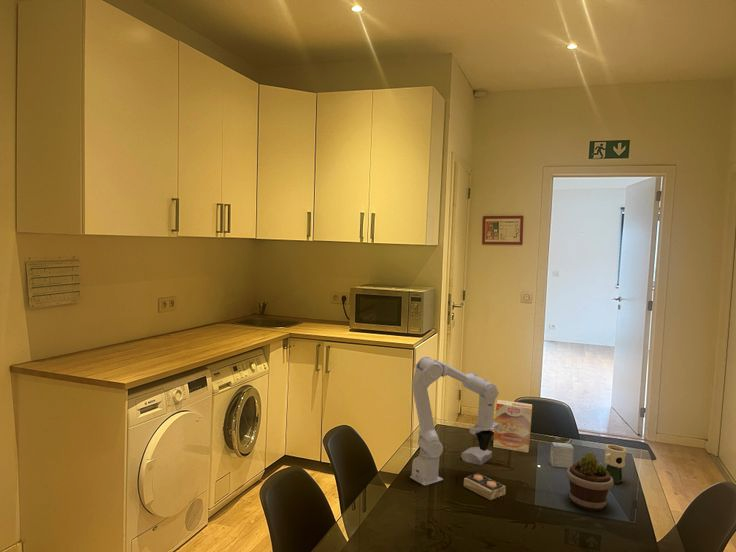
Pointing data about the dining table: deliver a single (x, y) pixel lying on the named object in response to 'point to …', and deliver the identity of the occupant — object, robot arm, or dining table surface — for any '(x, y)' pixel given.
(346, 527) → the dining table surface
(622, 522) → the dining table surface
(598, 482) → the flowerpot
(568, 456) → the medicine box
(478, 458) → the stone block
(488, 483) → the peg
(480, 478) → the peg
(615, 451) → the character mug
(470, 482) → the socket block
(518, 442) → the coffeecake box
